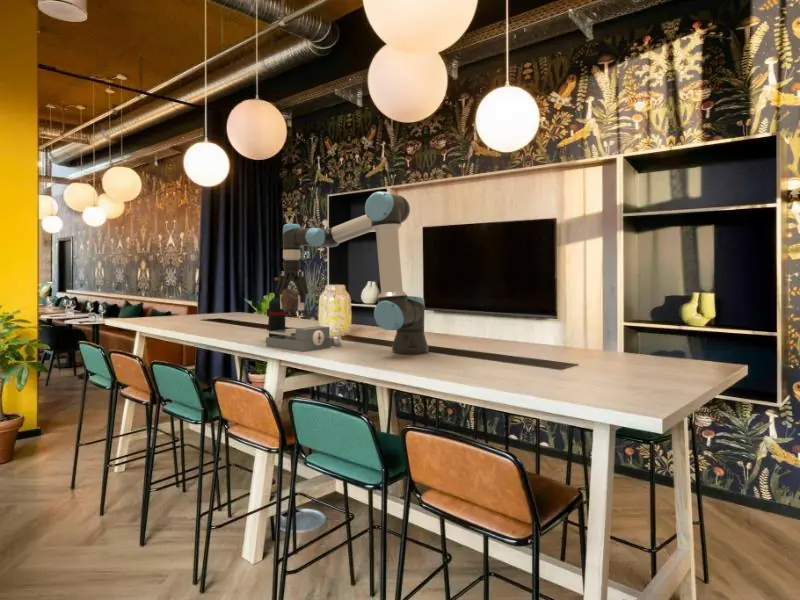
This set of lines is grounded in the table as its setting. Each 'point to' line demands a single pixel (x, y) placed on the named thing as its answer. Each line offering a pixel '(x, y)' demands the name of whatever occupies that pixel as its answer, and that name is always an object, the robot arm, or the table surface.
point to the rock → (289, 300)
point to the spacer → (335, 341)
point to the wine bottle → (275, 313)
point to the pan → (284, 332)
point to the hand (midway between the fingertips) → (291, 309)
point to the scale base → (302, 339)
